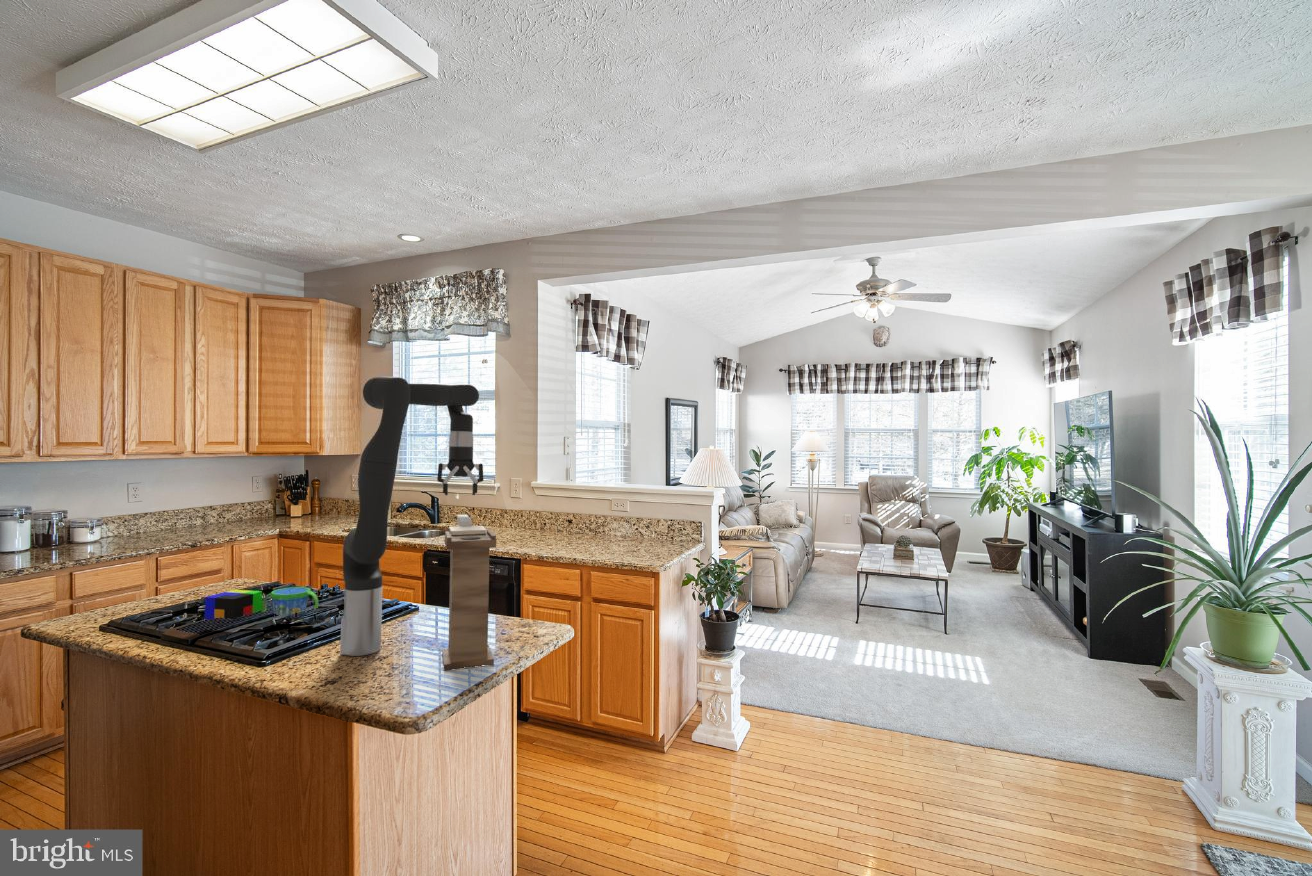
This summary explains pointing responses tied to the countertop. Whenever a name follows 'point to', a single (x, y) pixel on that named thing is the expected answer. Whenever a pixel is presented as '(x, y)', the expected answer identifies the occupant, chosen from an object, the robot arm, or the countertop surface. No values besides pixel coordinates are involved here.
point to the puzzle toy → (233, 604)
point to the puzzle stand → (468, 600)
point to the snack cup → (290, 600)
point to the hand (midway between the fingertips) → (460, 495)
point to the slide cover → (466, 527)
